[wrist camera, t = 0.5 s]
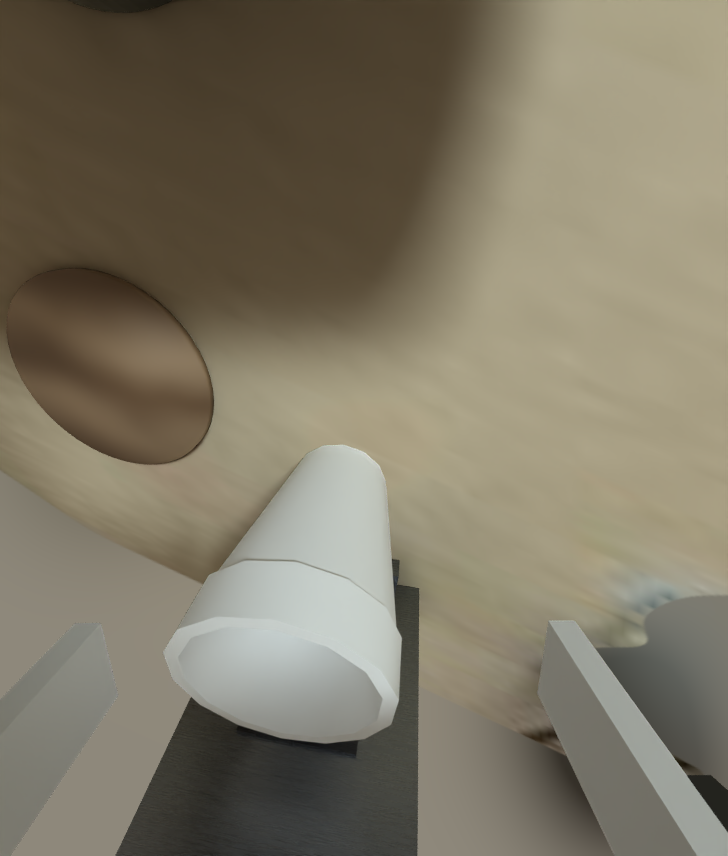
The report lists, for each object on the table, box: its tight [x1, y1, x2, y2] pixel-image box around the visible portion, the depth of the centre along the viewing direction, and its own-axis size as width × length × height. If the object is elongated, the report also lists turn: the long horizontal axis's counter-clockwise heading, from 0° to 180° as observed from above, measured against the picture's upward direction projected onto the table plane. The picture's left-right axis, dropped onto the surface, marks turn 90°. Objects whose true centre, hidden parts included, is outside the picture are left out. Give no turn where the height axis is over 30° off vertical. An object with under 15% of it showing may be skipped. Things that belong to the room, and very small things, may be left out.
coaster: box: [7, 268, 214, 464], centre depth 23 cm, size 13×13×1 cm
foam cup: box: [163, 445, 402, 744], centre depth 20 cm, size 10×9×13 cm
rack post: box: [116, 559, 419, 856], centre depth 18 cm, size 5×14×30 cm, turn 86°
